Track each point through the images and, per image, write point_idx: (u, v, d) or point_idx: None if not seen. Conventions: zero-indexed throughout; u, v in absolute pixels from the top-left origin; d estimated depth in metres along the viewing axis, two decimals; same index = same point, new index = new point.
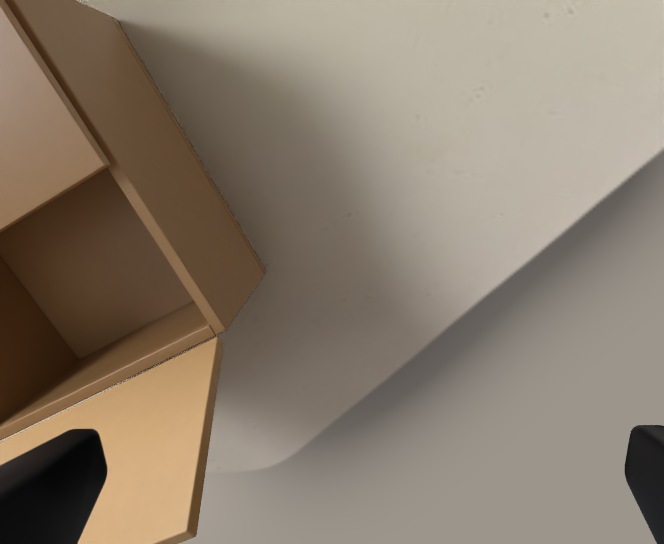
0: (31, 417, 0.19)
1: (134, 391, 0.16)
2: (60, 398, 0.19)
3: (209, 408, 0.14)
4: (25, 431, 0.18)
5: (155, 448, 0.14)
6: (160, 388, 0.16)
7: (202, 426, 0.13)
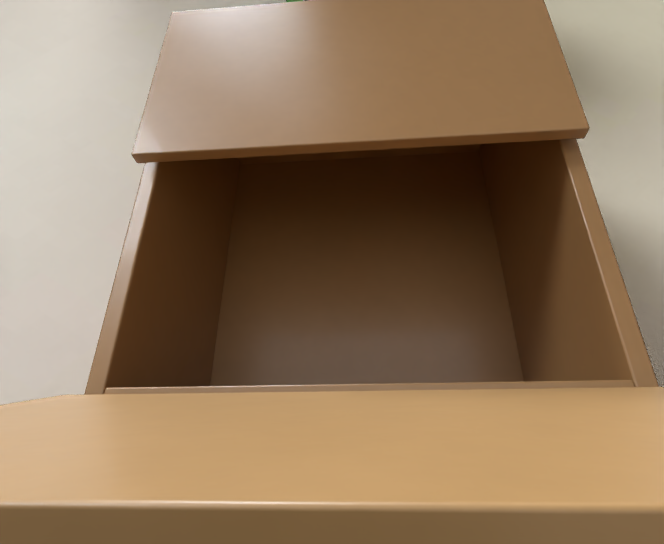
0: None
1: (510, 393, 0.08)
2: (288, 386, 0.10)
3: None
4: (215, 393, 0.09)
5: None
6: (598, 395, 0.08)
7: None
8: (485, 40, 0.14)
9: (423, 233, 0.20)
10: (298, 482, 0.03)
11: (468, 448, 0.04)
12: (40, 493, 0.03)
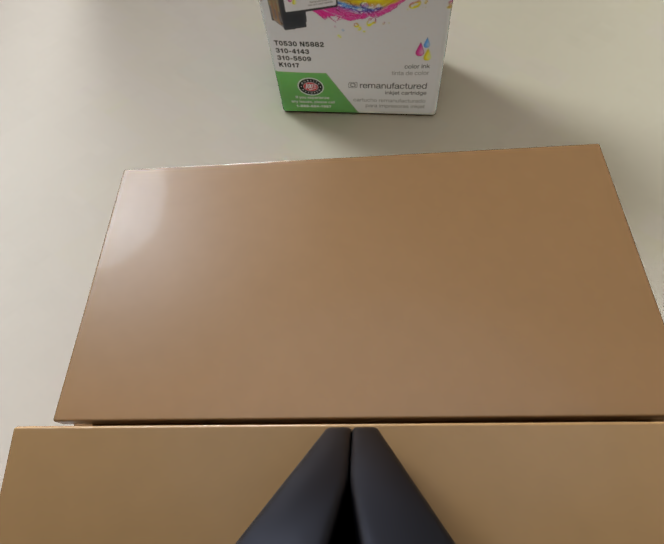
0: None
1: None
2: None
3: None
4: None
5: None
6: None
7: None
8: (536, 242, 0.10)
9: None
10: None
11: None
12: None
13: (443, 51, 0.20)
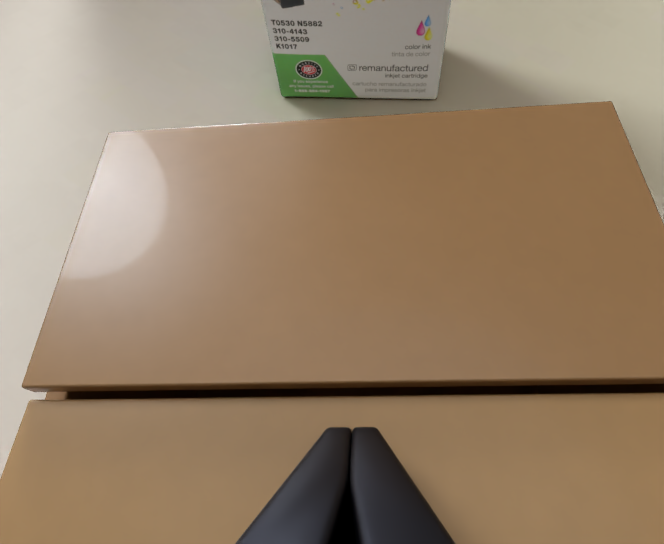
0: None
1: None
2: None
3: None
4: None
5: None
6: None
7: None
8: (547, 199, 0.10)
9: (444, 388, 0.16)
10: (345, 423, 0.08)
11: None
12: None
13: (444, 30, 0.20)
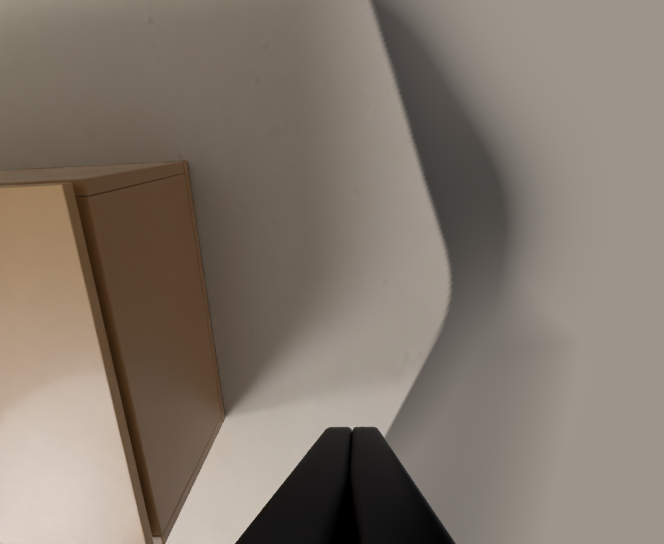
0: (139, 473, 0.15)
1: None
2: None
3: None
4: None
5: None
6: None
7: None
8: None
9: None
10: None
11: None
12: None
13: None
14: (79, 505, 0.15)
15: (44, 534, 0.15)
